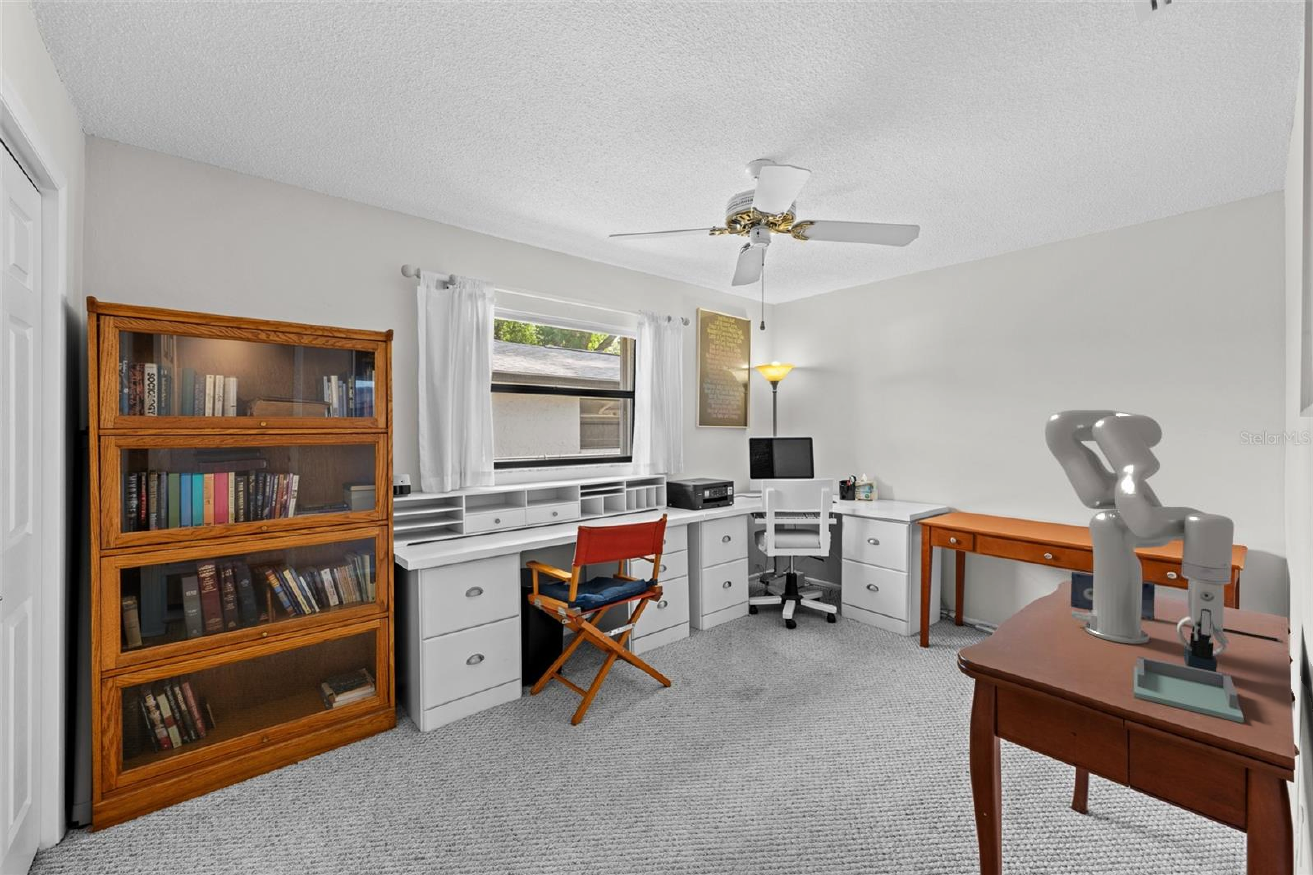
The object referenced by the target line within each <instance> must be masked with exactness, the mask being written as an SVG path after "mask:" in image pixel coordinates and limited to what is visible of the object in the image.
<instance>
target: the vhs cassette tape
mask: <svg viewBox="0 0 1313 875" xmlns="http://www.w3.org/2000/svg"><path fill="white" fill-rule="evenodd" d="M1070 575H1071V582H1070V583H1071V584H1070V607H1072V608H1077V609H1082V610H1087V609H1088V611H1092V610H1093V573H1092V574H1091V573H1084V572H1078V571H1073V570H1072V571H1071V574H1070ZM1155 586H1156V584H1155V582H1148V581H1144V580H1142V613H1141V618H1144V619H1143V620H1147V619H1149V620H1148V621H1154V620H1155V594H1156V592H1155V589H1156V587H1155Z"/></svg>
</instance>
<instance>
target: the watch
mask: <svg viewBox="0 0 1313 875" xmlns="http://www.w3.org/2000/svg"><path fill="white" fill-rule="evenodd" d="M1189 622H1190V618H1189V615H1188V616H1185V617H1184V618H1181V619H1180V621H1178V623H1177V627H1176V632H1177V635H1178V637H1179V640H1180V642H1181V643H1182V644H1183V646H1184V651H1183V661H1184V663H1185V666H1188V667H1193V668H1198V669H1203V670H1208V671H1213V672H1217V668H1218V660H1217V658H1216V657H1215V656H1218V655H1221V654H1222V653H1224V651H1226V649H1227V648H1228V646H1227V645H1228V644H1229V643H1230V642H1229V640H1228V638H1227V637H1226V634H1224V631H1221V632H1219V631H1218V630H1216V629H1215V627H1214V625H1213V636H1214V637H1215V639H1216V640H1217V642H1218V644H1220V646H1218V647H1217V648H1215V649H1213V660H1210V659H1205V658H1201V657H1196V656H1192V655H1191V652H1192V647H1191V646H1190V642H1188V641H1187V639H1186V638H1185V637H1184V634H1183V628H1182V627H1183V626H1184V625H1185V624H1187V623H1189ZM1190 623H1191V622H1190Z"/></svg>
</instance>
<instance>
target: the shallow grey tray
mask: <svg viewBox="0 0 1313 875" xmlns="http://www.w3.org/2000/svg"><path fill="white" fill-rule="evenodd" d="M1136 659H1137V662H1136V663H1137V664H1136V665H1135V666H1133V670H1134V671H1133V697H1134V698H1137V699H1140V700H1145V701H1149V702H1153V703H1157V704H1160V705H1166V706H1168V707H1169V706H1170V707H1173V708H1179V709H1182V710H1187V711H1191V712H1196V713H1198V714H1204V715H1206V716H1212V717H1215V718H1219V719H1224V720H1229V721H1233V722H1237V723H1242V724H1244V722H1245V720H1244V718H1245V717H1244V715H1243V712H1242V709H1241V707H1240V703H1239V700H1238V693H1237V691H1236V689H1235V685H1234V683H1233V680H1232V677H1231V675H1230V674H1227V673H1223V672H1217V671H1216V672H1213V671H1208V670H1203V669H1198V668H1193V667H1188V666H1186V665H1184V664H1183V665H1181V664H1178V663H1172V662H1167V661H1162V660H1158V659H1152V658H1149V657H1143V656H1137V658H1136Z"/></svg>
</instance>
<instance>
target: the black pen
mask: <svg viewBox="0 0 1313 875" xmlns="http://www.w3.org/2000/svg"><path fill="white" fill-rule="evenodd" d="M1222 632H1223V633H1225V632H1226V633H1231V634H1235V635H1236V634H1237V635H1241V636H1245V637H1250V638H1255V639H1262V640H1267V641H1272V642H1277V643H1282V644H1283V643H1284V641H1283V639H1280V638H1278V637H1273V636H1266V635H1262V634H1261V635H1260V634H1256V633H1249V632H1245V631H1241V630H1235V629H1230V628H1225V627H1223V631H1222Z"/></svg>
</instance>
